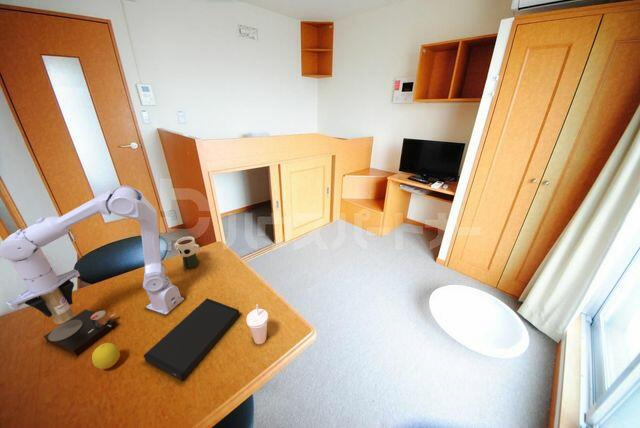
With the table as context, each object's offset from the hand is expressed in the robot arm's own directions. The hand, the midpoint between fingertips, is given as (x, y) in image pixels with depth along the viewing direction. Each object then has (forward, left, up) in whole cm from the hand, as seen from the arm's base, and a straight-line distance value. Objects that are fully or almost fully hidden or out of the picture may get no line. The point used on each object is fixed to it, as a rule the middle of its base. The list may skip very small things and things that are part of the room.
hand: (59, 309), depth 71 cm
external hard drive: (-38, -12, -11) cm, 41 cm away
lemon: (-22, +3, -11) cm, 25 cm away
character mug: (-8, -40, -11) cm, 42 cm away
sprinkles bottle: (0, 0, -4) cm, 4 cm away
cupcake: (-7, -4, -8) cm, 12 cm away
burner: (0, +1, -8) cm, 8 cm away
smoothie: (-57, -18, -11) cm, 61 cm away
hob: (-4, -2, -10) cm, 11 cm away
